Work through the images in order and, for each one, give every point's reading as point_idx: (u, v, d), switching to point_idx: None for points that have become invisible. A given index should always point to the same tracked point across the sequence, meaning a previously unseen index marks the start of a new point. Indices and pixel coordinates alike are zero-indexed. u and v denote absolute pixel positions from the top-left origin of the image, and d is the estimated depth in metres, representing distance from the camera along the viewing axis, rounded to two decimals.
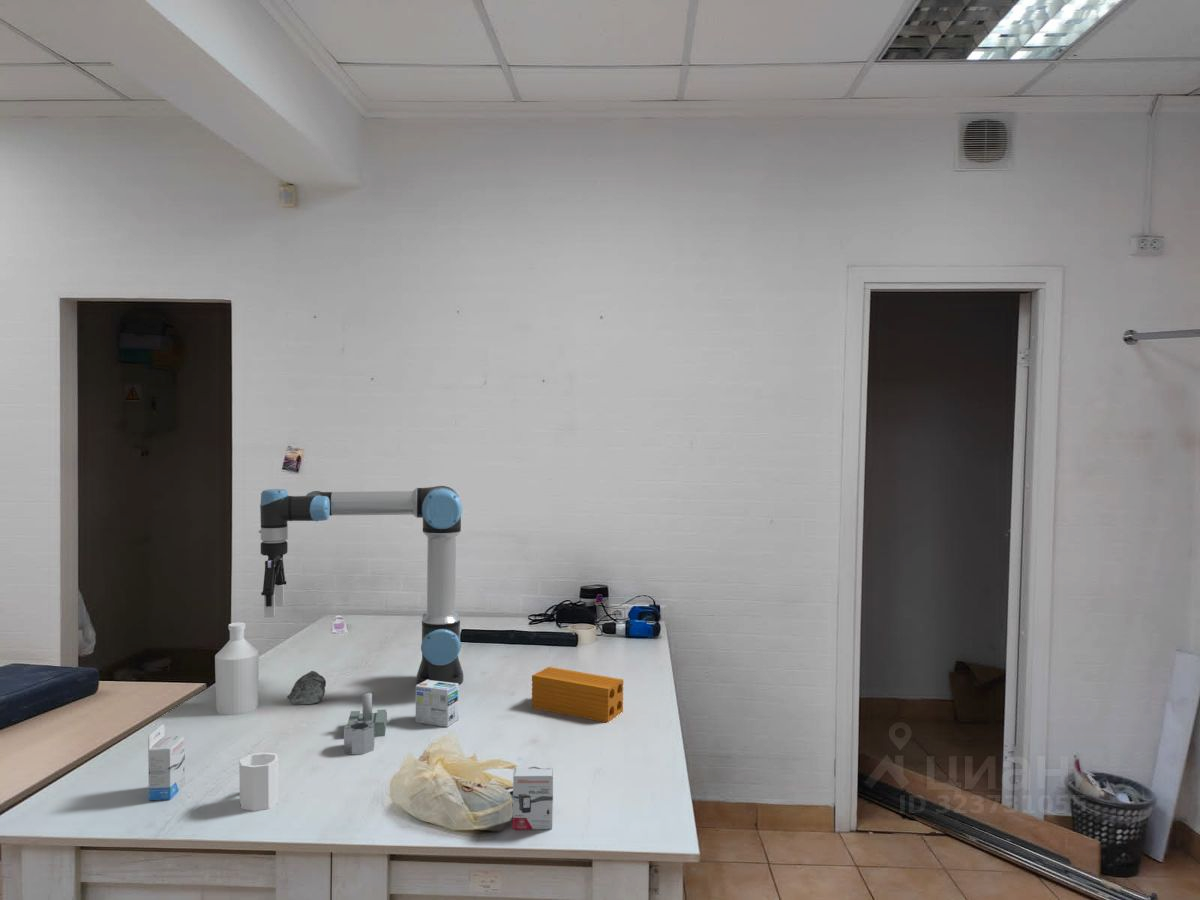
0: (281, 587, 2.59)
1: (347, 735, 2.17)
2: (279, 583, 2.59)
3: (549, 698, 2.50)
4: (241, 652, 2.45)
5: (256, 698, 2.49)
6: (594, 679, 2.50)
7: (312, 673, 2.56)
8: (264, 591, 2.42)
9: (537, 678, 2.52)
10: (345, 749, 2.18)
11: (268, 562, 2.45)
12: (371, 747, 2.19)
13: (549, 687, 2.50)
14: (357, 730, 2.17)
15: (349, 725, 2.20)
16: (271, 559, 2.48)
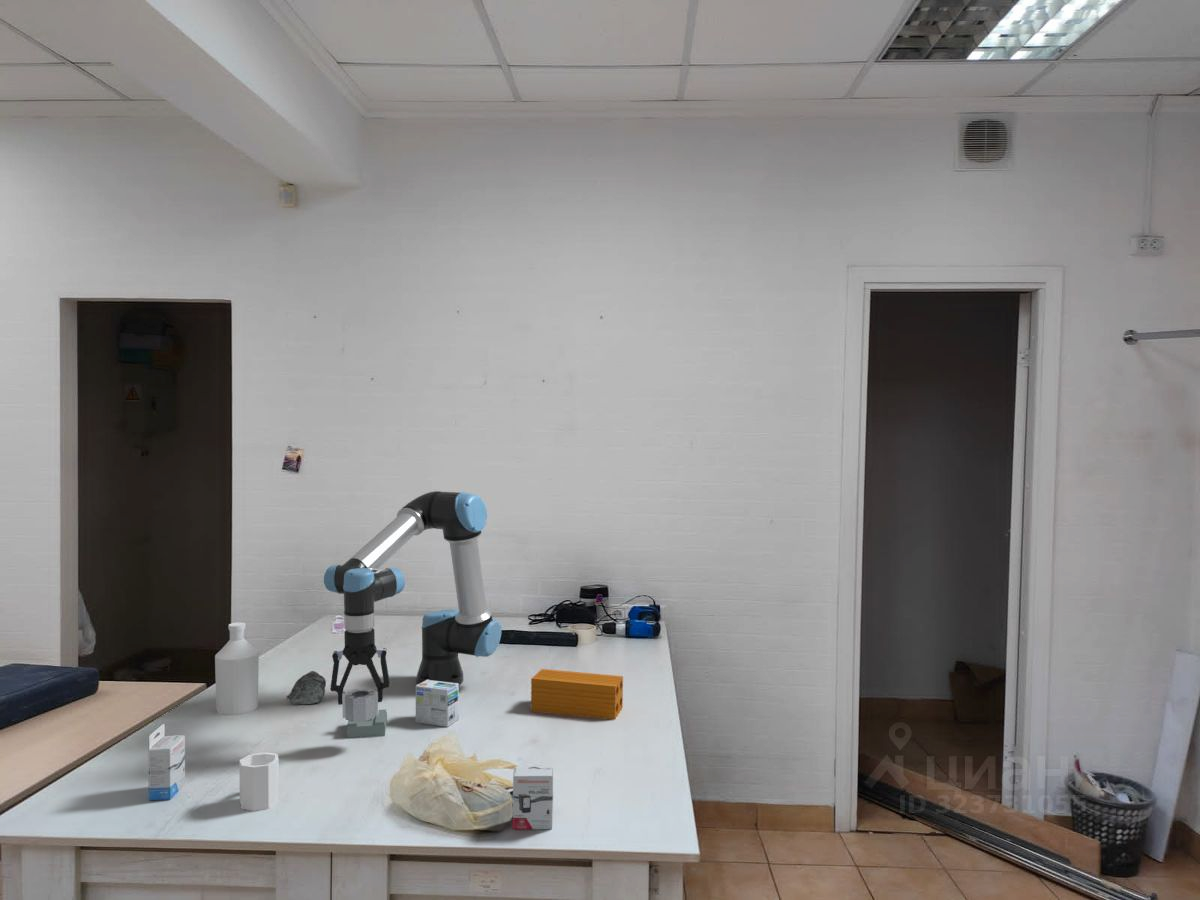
0: None
1: (348, 702, 2.17)
2: None
3: (550, 700, 2.48)
4: (241, 652, 2.45)
5: (256, 698, 2.49)
6: (595, 678, 2.51)
7: (312, 673, 2.56)
8: None
9: (537, 681, 2.49)
10: (346, 717, 2.18)
11: (333, 654, 2.18)
12: (372, 714, 2.19)
13: (550, 689, 2.48)
14: (358, 698, 2.17)
15: (350, 693, 2.20)
16: None
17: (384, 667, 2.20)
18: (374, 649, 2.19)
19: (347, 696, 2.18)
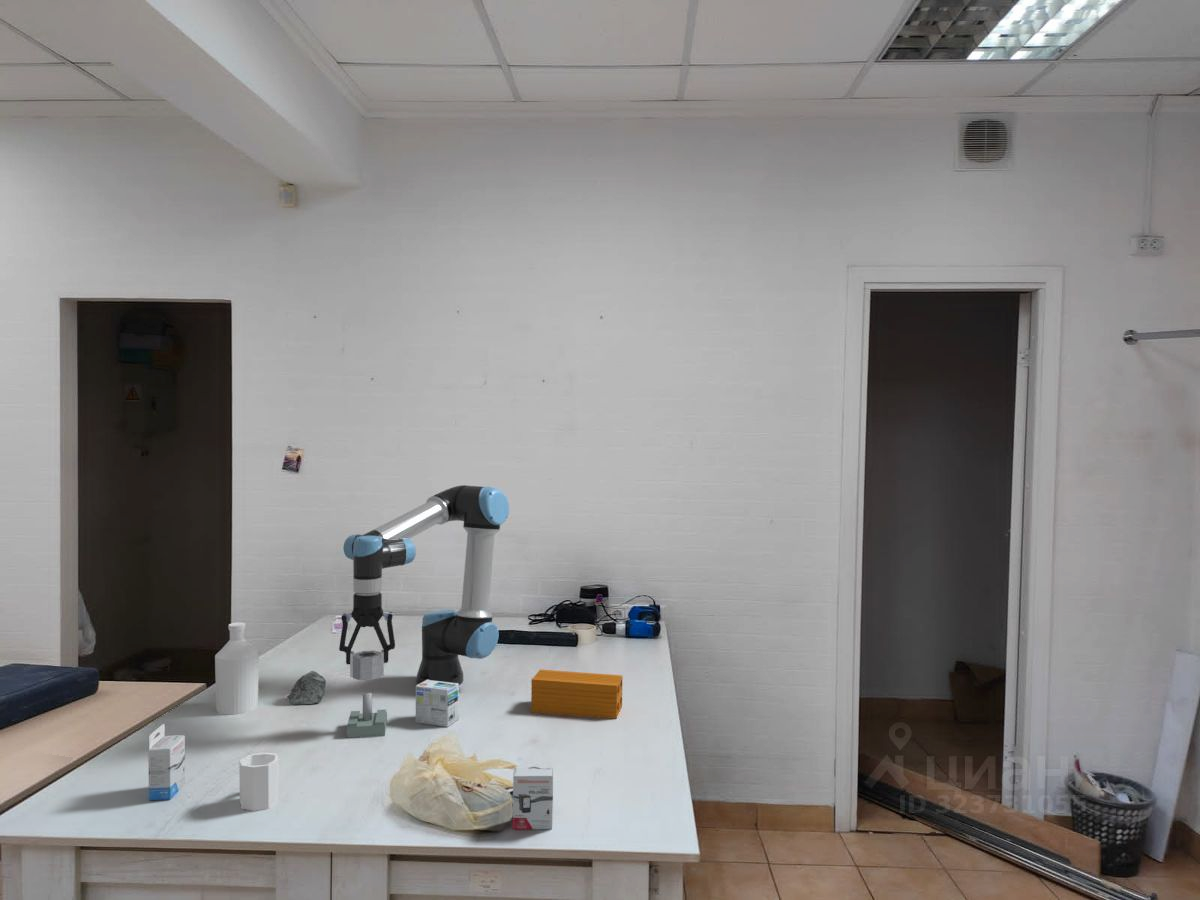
0: (381, 654, 2.32)
1: (356, 662, 2.29)
2: None
3: (551, 701, 2.48)
4: (241, 652, 2.45)
5: (256, 698, 2.49)
6: (595, 677, 2.51)
7: (312, 673, 2.56)
8: None
9: (537, 682, 2.48)
10: (354, 675, 2.30)
11: (342, 616, 2.31)
12: (378, 674, 2.31)
13: (551, 689, 2.48)
14: (365, 657, 2.29)
15: (357, 653, 2.33)
16: None
17: (390, 629, 2.32)
18: (381, 612, 2.32)
19: (355, 656, 2.30)
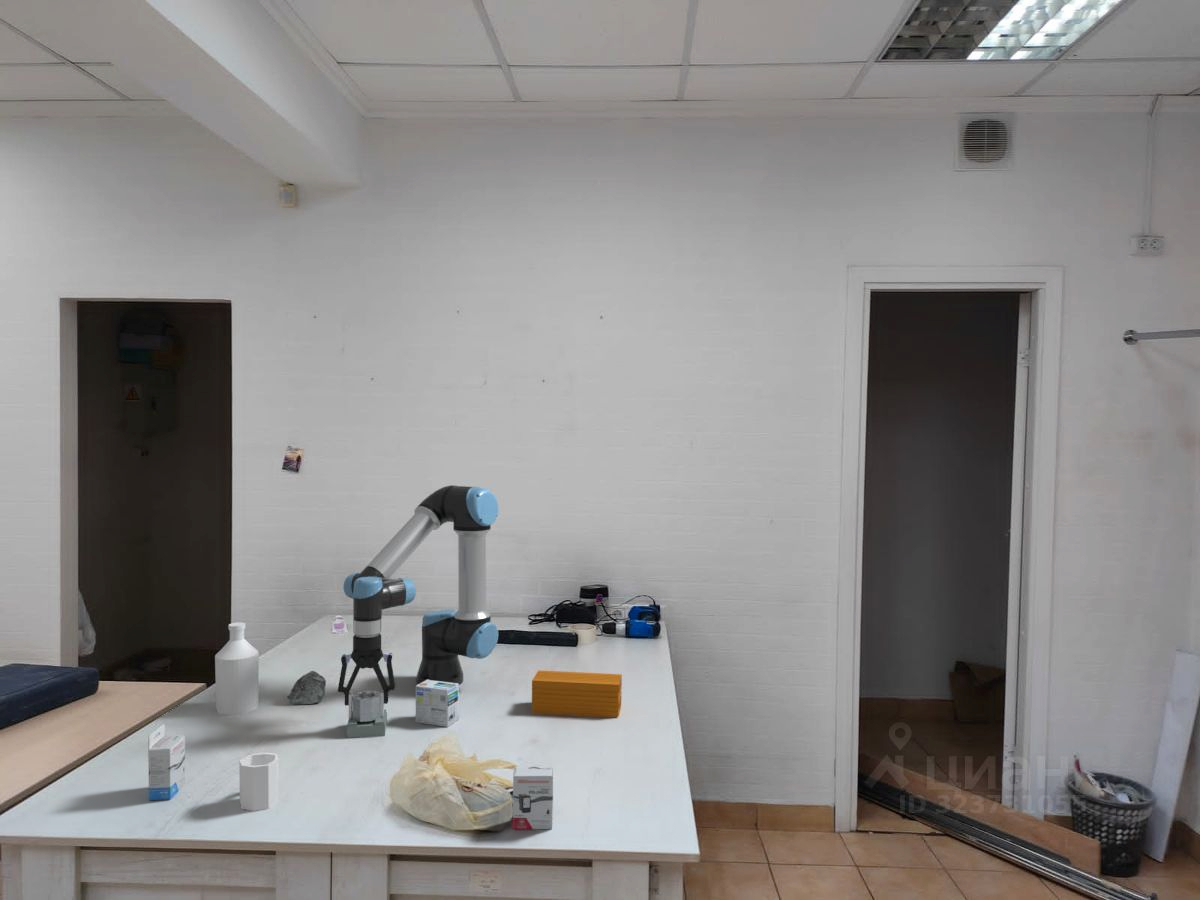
0: None
1: (356, 703, 2.30)
2: None
3: (552, 701, 2.47)
4: (241, 652, 2.45)
5: (256, 698, 2.49)
6: (595, 677, 2.51)
7: (312, 673, 2.56)
8: None
9: (538, 683, 2.48)
10: (353, 717, 2.31)
11: (341, 657, 2.31)
12: (378, 715, 2.32)
13: (552, 690, 2.47)
14: (365, 699, 2.30)
15: (357, 694, 2.33)
16: None
17: (390, 670, 2.33)
18: (380, 653, 2.32)
19: (354, 697, 2.31)
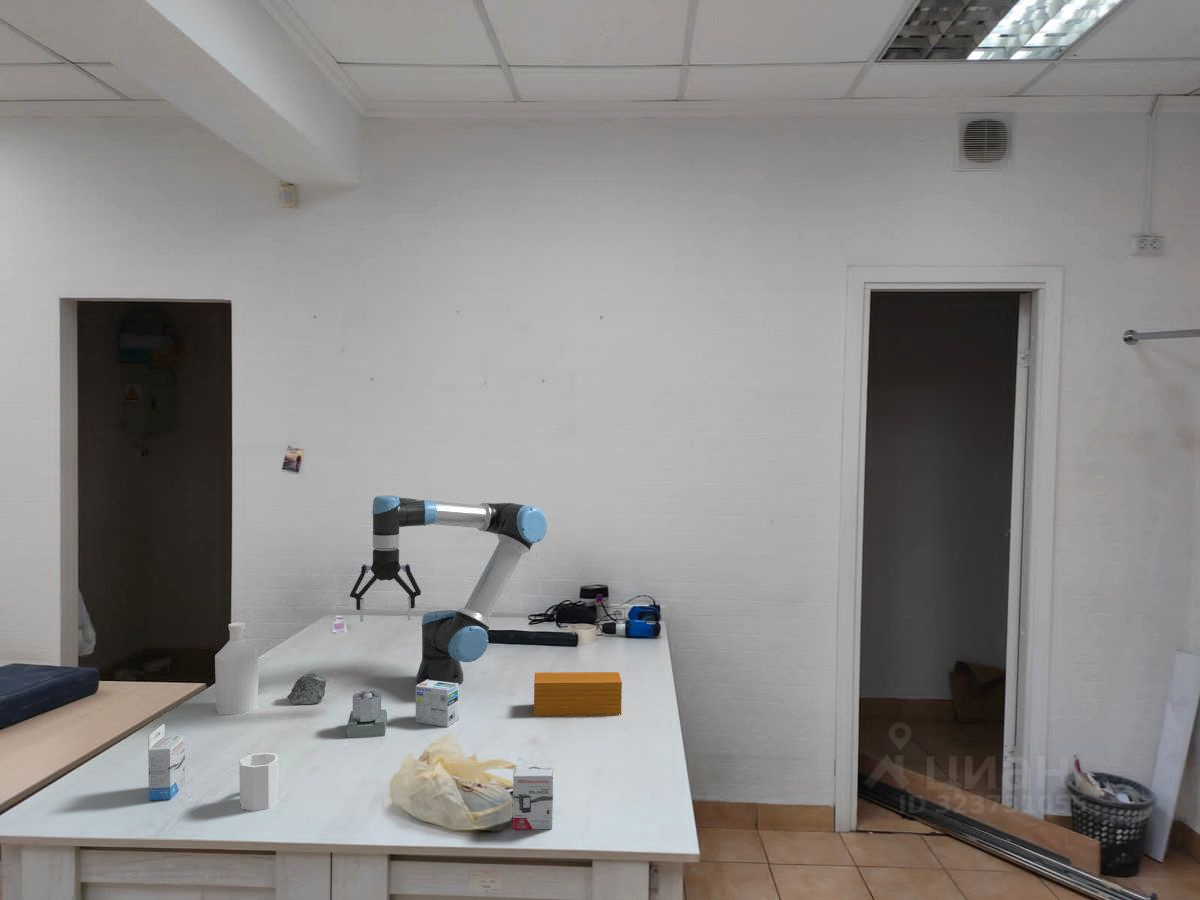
0: (408, 599, 2.49)
1: (356, 703, 2.30)
2: None
3: (555, 703, 2.46)
4: (241, 652, 2.45)
5: (256, 698, 2.49)
6: (595, 676, 2.52)
7: (312, 673, 2.56)
8: None
9: (540, 685, 2.46)
10: (353, 717, 2.31)
11: (362, 566, 2.47)
12: (378, 715, 2.32)
13: (555, 691, 2.46)
14: (365, 699, 2.30)
15: (357, 694, 2.33)
16: None
17: (411, 578, 2.48)
18: (398, 566, 2.48)
19: (354, 697, 2.31)
